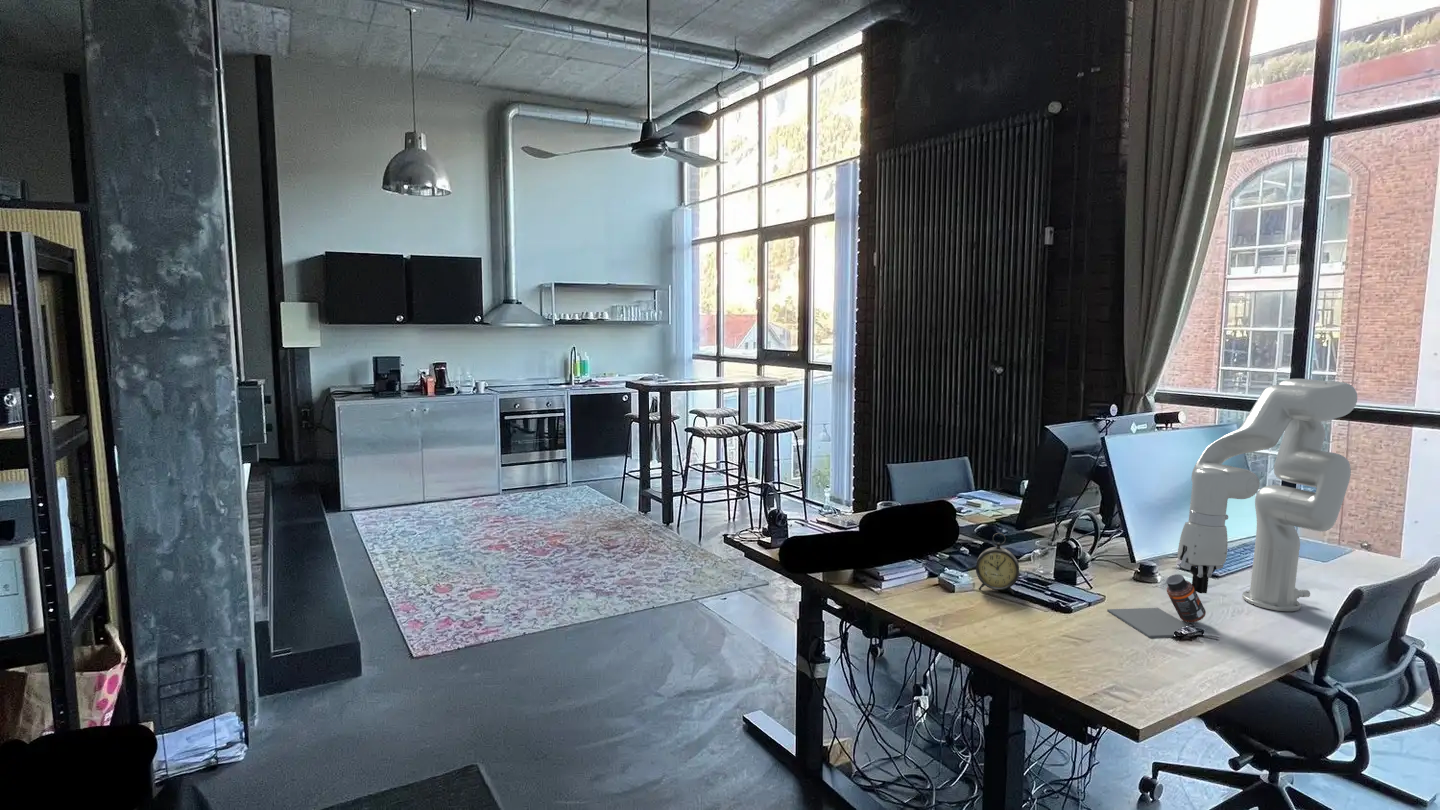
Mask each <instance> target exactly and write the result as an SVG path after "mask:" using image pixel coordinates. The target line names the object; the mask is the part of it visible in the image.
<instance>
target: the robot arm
mask: <svg viewBox="0 0 1440 810" xmlns="http://www.w3.org/2000/svg"><path fill="white" fill-rule="evenodd" d="M1357 403H1358V392H1357V390H1356V388H1355V387H1354V386H1353V385H1351V384H1350V383H1347V382H1341V381H1333V380H1322V379H1321V380H1318V379H1309V378H1288V379H1283V380H1282V381H1280V382H1279V383H1278V384H1273V385H1270V386H1267V387H1266V388H1265V389H1264V390H1263V391H1262V392H1261V393H1260V395H1259V396H1258V398H1257V400H1256V401H1255V403H1254V404H1253V406H1252V408H1251V410H1250V411H1249V413H1248V414H1247V416H1246V417H1245V419H1244V421H1243V423H1242V424H1241V426H1240V427H1239V428H1237V429H1235V430H1233V431H1231V432H1229V433H1227V434H1225V435H1223V436H1221V437H1219V438H1218V439H1216V440H1215V441H1213V442H1211V443H1210V444H1208V445H1207V447H1206V448H1205V449H1204V450H1203V451H1202V453H1201V455H1200V457H1199V458H1198V460H1197V461H1196V463H1195V465H1194V467H1193V469H1192V472H1191V482H1192V484H1191V485H1192V486H1191V493H1190V502H1189V503H1190V504H1189V514H1188V521H1185V523H1184V524H1183V527H1182V530H1181V533H1180V538H1179V543H1178V548H1177V560H1180V565H1179V567H1180V568H1181V569H1185V570H1188V571H1189V572H1190V574H1191V575H1192V579H1191V580H1192V581H1191V584H1192V585H1193V587H1194V589H1195V591H1196V593H1197V594H1207V593H1208V586H1209V585H1208V584H1209V578H1211V577H1213V576H1212V575H1213V573H1214V572H1215V571H1217V570H1221V569H1223V568H1224V565H1225V563H1226V561H1227V559H1228V558H1227V556H1228V540H1229V539H1228V529H1227V526H1226V520H1228V519H1229V515H1228V514H1227V507H1228V499H1234V500H1247V499H1250V498H1252V497H1253V496H1254V495H1255V499H1254V508H1255V515H1256V531H1255V542H1254V550H1253V560H1252V561H1253V562H1252V568H1251V570H1252V571H1251V580H1250V585H1249V586H1250V587H1249V590H1245V591H1243V592H1242V596H1241V597H1242V599H1243V600H1244V599H1245V600H1246V601H1245V600H1244V601H1245V602H1247V601H1248V602H1247V603H1249V604H1252V605H1253V604H1254V606H1256V607H1259V608H1263V609H1265V610H1266V609H1267V610H1272V611H1278V612H1297V611H1299V610H1301V606H1302V605H1301V602H1299V601H1298V599H1300V598H1310V596H1311V592H1310V590H1309V589H1298V588H1297V587H1296V582H1297V573H1298V564H1299V558H1300V557H1299V556H1300V549H1301V539H1300V536H1299V533H1298V531H1297V530H1296V528H1297V527H1298V528H1302V529H1305V530H1309V531H1310V530H1311V531H1314V532H1320V533H1321V532H1328V531H1330V530H1331V529H1332V528H1333V527H1334V525H1335V524H1336V522H1337V520H1338V517H1339V515H1340V511H1341V507H1342V505H1343V502H1344V499H1345V496H1346V493H1347V489H1348V486H1349V483H1350V480H1351V474H1352V473H1351V470H1352V469H1351V468H1352V467H1351V464H1350V461H1349V460H1348V459H1347V458H1346V456H1344V455H1342V454H1339V453H1336V452H1331V451H1324V450H1322V448H1323V445H1324V440H1325V438H1326V429H1325V427H1324V425H1323V422H1326V421H1331V420H1335V419H1337V418H1338V419H1339V418H1342V417H1345V416H1346V415H1348V414H1350V413H1351V412H1352V411H1353V410H1354V408H1355V407H1356V405H1357ZM1282 436H1283V437H1282ZM1281 437H1282V439H1281ZM1280 439H1281V443H1280V445H1279V448H1278V452H1277V455H1276V458H1275V462H1274V465H1273V473H1274V475H1275V477H1277V479H1279V480H1281V481H1284V482H1287V483H1291V484H1296V485H1299V486H1300V485H1301V486H1306V487H1311V488H1316V489H1315V492H1314V491H1310V490H1304V489H1300V488H1296V487H1290V486H1287V485H1280V484H1269V485H1266V486H1263V487H1261V488H1260V479H1259V477H1258V475H1257V474H1256V473H1254V472H1253V471H1252V470H1250V469H1246V468H1243V467H1236V466H1232V465H1226V464H1223V463H1224V462H1226V461H1227V460H1229V459H1231V458H1233V457H1236V456H1239V455H1242V454H1249V453H1254V452H1259V451H1264V450H1268V449H1271V448H1273V447H1275V446H1276V445H1277V444H1278V443H1279V442H1280ZM1295 527H1296V528H1295Z"/></svg>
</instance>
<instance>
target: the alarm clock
mask: <svg viewBox="0 0 1440 810" xmlns="http://www.w3.org/2000/svg"><path fill="white" fill-rule="evenodd" d="M996 535H1001V536H1002V537H1003V538H1004V541H1003V542H1002V543H1000V542H996V541H995V540H994V539H995V536H996ZM1006 540H1007V538H1006V536H1005V535H1004V534H1003V533H1002V532H997V533H994V534H993V536H992V542H993V543H994V544H995V545H996V546H993V547H989V548H986V549H984V550H982V552H981V553H980V554H979V556H978V558H977V560H976V564H975V573H976V576H977V578H978V580H979V581H980V583H981V584H980V586H979V587H978V590H982V588H983V587H987V588H989V589H992V590H995V591H1004V590H1007V589H1008V591H1010V592H1011V594H1012V595H1015V592H1014V590H1013V589H1012V587H1013V586H1014V585H1015V584H1016V582H1017V581H1018V578H1019V576H1020V566H1019V565H1020V564H1019V562H1018V561H1019V560H1018V559H1017V558H1016V556H1015V555H1014V553H1012V551H1010V550H1008V549H1006V548H1004V547H1001V545H1004V544H1005V542H1006Z"/></svg>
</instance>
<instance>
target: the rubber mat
mask: <svg viewBox="0 0 1440 810" xmlns="http://www.w3.org/2000/svg"><path fill="white" fill-rule="evenodd" d="M1106 611H1107V612H1108V613H1109V614H1111V615H1112V616H1114V617H1116V618H1117V619H1119V620H1121V622H1124V623H1125V624H1127V625H1128V626H1130V627H1132V629H1135V630H1136V631H1138V632H1140V633H1141V634H1143V635H1144V636H1146V637H1147V638H1149V639H1151V638H1153V639H1154V638H1155V639H1157V638H1174V637H1173V636H1174V635H1175V634H1174V632H1175V631H1176V630H1178V629H1180V628H1182V627H1186V626H1188V625H1189V624H1187V622H1185V621H1183V620H1181V619H1180V618H1179V619H1178V618H1177V617H1175V616H1173V615H1171V614H1170V613H1168V612H1166V611H1164V610H1163V609H1161V608H1160V607H1142V608H1140V607H1137V608H1135V607H1134V608H1108V609H1107V610H1106Z"/></svg>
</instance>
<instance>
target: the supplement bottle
mask: <svg viewBox="0 0 1440 810" xmlns="http://www.w3.org/2000/svg"><path fill="white" fill-rule="evenodd" d="M1165 582H1166V584H1167V587H1166V594H1167V596H1168V598H1169V599H1170V601H1171V603H1172V604H1173V607H1174V609H1175V611H1176V612H1177V615H1178V617H1179V619H1180V620H1181V621H1182V622H1184V623H1197V622H1199V621H1201V620H1203V619H1204V618H1205V617H1206V613H1207V611H1206V609H1205V607H1204V605H1203V603H1202V601H1201V599H1200V597H1199V596H1198V592H1196V591H1195V589H1194V587H1193V585H1192V582H1190V581H1188V580H1186V579H1185V577H1184V576H1183V575H1182V574H1179V573H1177V574H1173V575H1170V576H1169V577H1167V578H1166V581H1165Z"/></svg>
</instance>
